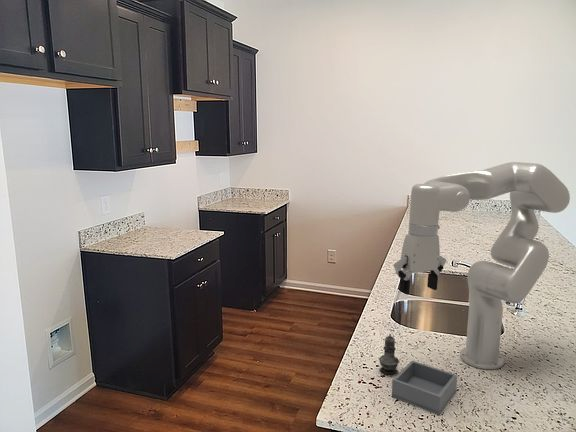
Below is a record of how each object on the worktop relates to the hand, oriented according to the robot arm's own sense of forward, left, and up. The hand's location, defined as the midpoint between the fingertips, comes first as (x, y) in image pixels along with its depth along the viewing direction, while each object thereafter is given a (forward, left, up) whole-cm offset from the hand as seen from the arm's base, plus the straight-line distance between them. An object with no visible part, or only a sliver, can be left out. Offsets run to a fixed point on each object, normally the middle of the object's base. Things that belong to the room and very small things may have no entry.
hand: (418, 290), depth 124 cm
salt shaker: (-1, -8, -28) cm, 29 cm away
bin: (+4, +5, -28) cm, 28 cm away
